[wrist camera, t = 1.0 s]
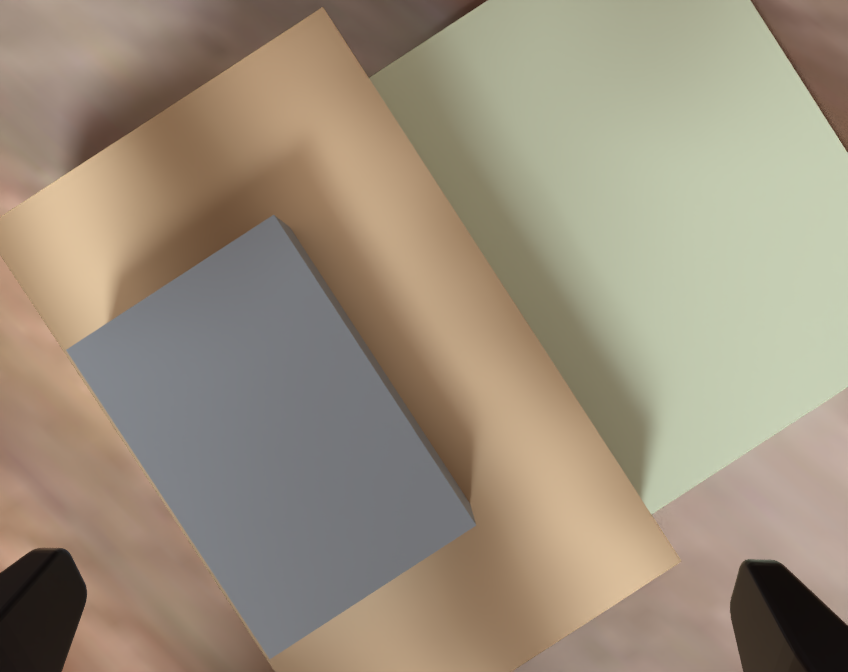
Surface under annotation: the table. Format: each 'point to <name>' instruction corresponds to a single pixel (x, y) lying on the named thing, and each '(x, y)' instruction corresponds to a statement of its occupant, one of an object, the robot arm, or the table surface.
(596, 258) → the mat
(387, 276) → the wooden block
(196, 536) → the grey bevelled block
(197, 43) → the table surface
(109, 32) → the table surface
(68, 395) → the table surface
